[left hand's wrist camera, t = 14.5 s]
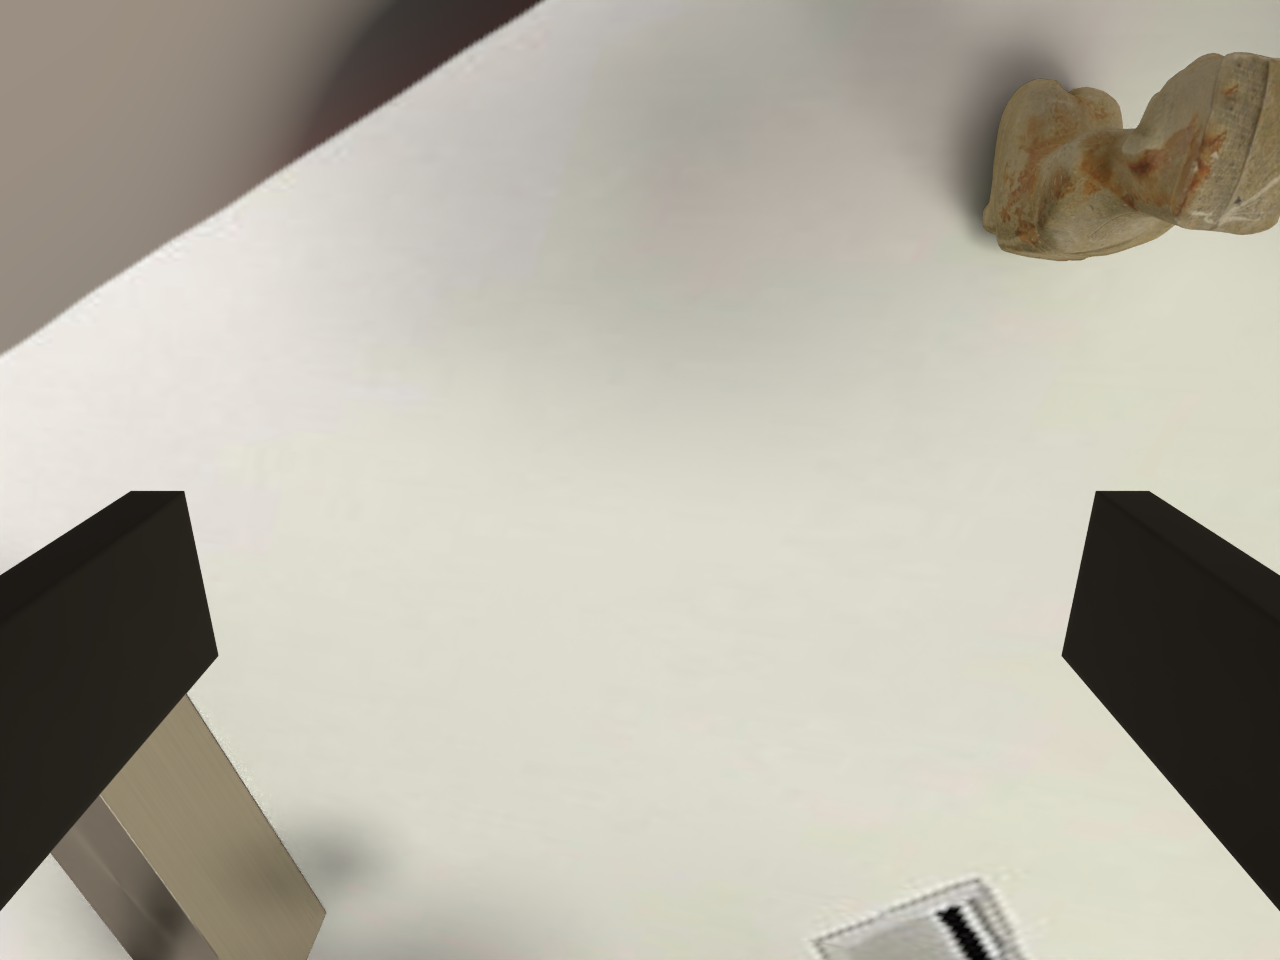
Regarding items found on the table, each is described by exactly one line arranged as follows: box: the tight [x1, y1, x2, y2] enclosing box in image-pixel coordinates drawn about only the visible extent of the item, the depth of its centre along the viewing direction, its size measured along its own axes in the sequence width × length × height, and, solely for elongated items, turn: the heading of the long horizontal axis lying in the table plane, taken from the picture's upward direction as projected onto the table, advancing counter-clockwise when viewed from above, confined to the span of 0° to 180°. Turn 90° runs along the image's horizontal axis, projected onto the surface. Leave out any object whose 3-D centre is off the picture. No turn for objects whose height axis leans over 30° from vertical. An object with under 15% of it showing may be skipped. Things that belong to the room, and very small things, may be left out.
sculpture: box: [982, 52, 1280, 261], centre depth 31 cm, size 6×7×15 cm
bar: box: [50, 694, 326, 960], centre depth 47 cm, size 25×4×8 cm, turn 19°
